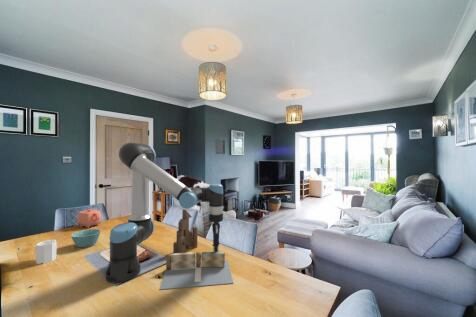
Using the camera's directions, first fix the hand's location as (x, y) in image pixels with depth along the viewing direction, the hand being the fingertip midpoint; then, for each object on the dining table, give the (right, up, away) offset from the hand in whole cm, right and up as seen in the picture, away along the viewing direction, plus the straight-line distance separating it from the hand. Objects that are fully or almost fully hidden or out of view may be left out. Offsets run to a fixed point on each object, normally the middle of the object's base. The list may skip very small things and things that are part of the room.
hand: (215, 257), depth 113 cm
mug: (-96, -4, +4) cm, 96 cm away
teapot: (-114, -4, +65) cm, 131 cm away
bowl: (-87, -4, +25) cm, 91 cm away
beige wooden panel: (-16, -4, -4) cm, 17 cm away
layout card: (-8, -4, -9) cm, 13 cm away
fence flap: (-1, -3, -3) cm, 5 cm away
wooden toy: (-20, -4, +18) cm, 28 cm away
